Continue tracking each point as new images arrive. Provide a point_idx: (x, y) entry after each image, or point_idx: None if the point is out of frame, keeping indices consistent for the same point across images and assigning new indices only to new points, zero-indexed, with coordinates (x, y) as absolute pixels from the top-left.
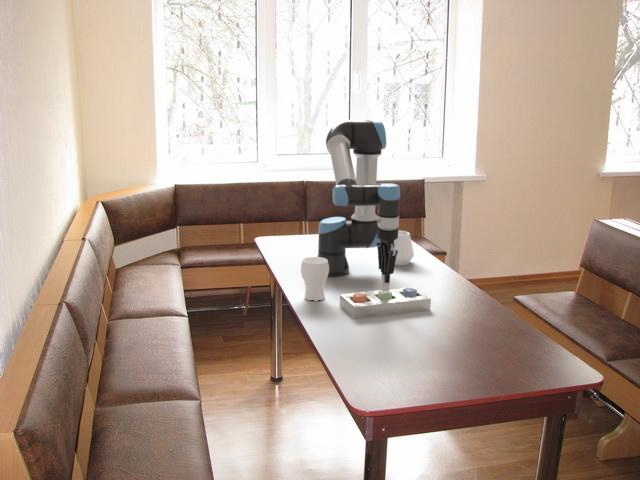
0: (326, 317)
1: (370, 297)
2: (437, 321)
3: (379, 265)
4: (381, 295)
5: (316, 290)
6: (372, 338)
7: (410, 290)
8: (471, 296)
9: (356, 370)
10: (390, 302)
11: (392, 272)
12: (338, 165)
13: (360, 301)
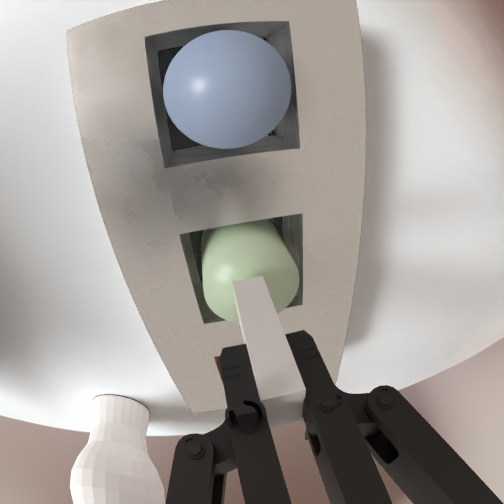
0: None
1: None
2: (441, 73)
3: (214, 487)
4: (279, 309)
5: (144, 438)
6: (441, 312)
7: (232, 84)
8: None
9: (485, 333)
10: (351, 266)
11: (396, 400)
12: None
13: None
